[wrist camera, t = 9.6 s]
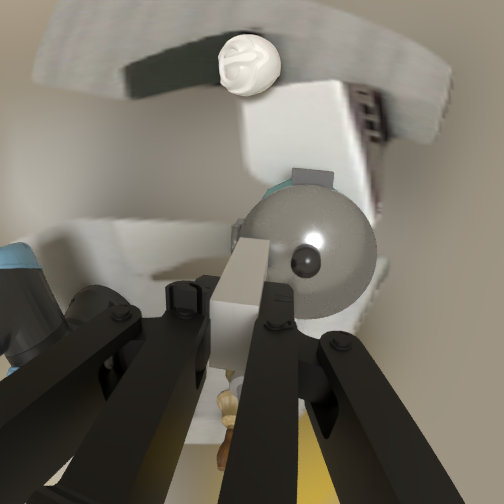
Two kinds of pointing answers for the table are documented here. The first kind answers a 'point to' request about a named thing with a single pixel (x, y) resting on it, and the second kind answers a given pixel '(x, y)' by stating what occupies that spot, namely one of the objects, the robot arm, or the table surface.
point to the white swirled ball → (248, 65)
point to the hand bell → (226, 424)
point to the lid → (314, 246)
